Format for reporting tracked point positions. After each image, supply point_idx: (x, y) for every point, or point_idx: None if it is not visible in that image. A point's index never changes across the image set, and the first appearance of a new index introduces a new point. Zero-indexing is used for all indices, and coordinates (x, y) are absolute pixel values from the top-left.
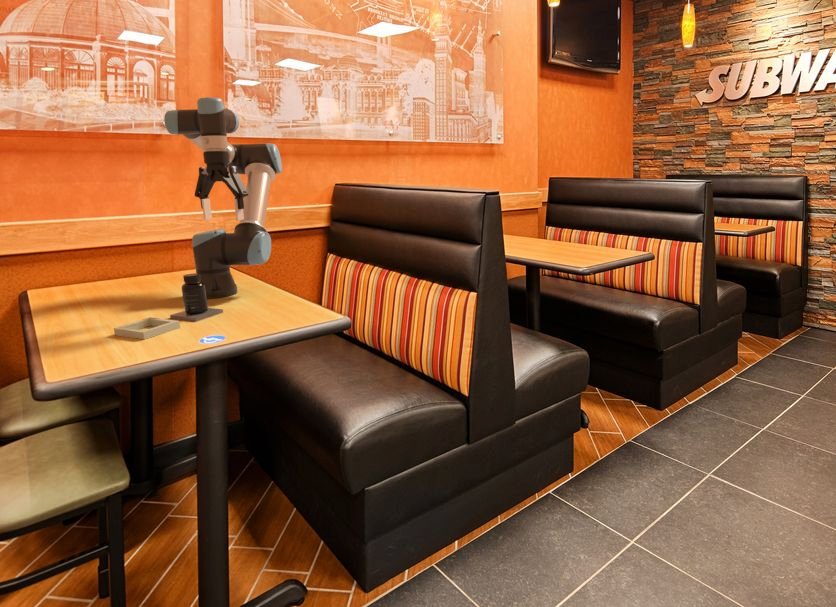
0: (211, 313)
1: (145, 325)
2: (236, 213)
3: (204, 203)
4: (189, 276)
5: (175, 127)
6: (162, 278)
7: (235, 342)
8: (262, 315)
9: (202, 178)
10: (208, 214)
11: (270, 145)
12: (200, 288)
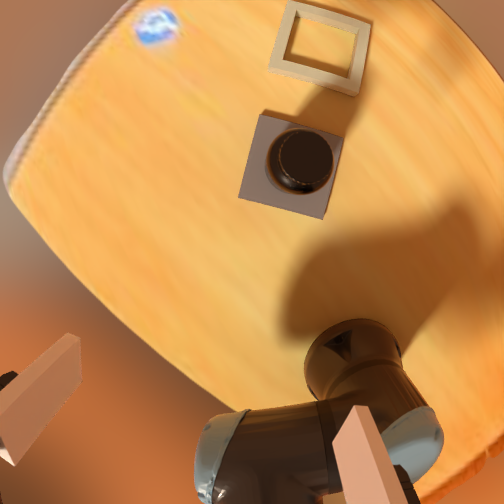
0: (247, 160)
1: (349, 72)
2: (49, 355)
3: (380, 493)
4: (297, 132)
5: None
6: (482, 428)
7: (111, 27)
8: (131, 183)
9: None
10: (348, 447)
11: None
12: (268, 149)
